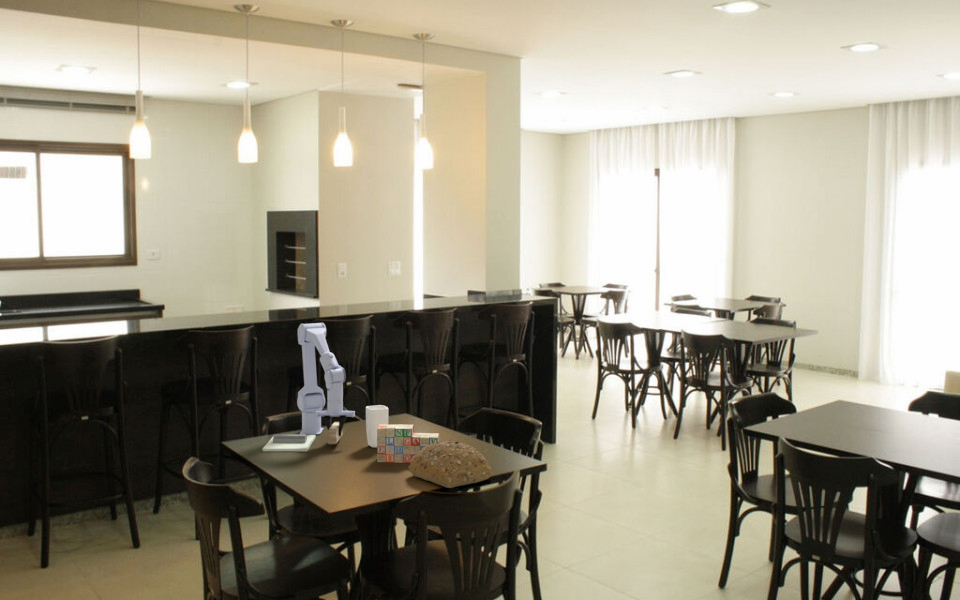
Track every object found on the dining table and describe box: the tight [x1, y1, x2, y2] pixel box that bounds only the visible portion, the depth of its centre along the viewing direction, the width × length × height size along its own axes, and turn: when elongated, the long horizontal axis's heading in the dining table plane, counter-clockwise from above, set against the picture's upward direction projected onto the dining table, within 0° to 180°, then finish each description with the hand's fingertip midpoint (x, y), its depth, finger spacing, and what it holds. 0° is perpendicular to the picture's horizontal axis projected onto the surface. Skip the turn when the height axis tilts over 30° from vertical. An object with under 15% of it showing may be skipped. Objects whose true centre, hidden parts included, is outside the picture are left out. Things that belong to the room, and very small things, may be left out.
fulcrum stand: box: [262, 433, 317, 452], centre depth 305 cm, size 20×16×4 cm
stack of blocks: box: [376, 423, 440, 464], centre depth 285 cm, size 21×6×12 cm, turn 88°
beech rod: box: [327, 421, 343, 445], centre depth 306 cm, size 14×3×5 cm, turn 0°
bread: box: [408, 439, 493, 489], centre depth 265 cm, size 24×21×12 cm
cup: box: [365, 404, 389, 449], centre depth 303 cm, size 7×7×15 cm
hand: (335, 435), depth 306 cm, fingers closed on beech rod, 3 cm apart
